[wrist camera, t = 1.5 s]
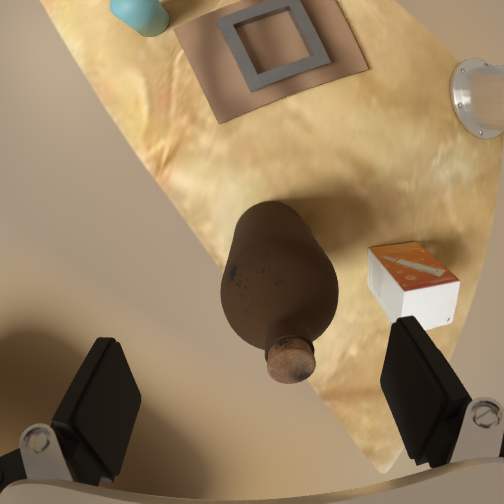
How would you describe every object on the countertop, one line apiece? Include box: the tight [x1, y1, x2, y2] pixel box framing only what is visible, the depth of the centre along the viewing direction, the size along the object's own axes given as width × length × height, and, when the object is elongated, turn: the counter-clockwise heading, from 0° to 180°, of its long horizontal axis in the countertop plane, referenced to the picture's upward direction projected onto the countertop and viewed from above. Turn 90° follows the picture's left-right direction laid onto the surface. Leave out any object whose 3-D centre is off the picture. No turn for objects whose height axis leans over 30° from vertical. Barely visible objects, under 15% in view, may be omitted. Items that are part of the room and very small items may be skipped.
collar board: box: [173, 0, 368, 124], centre depth 32 cm, size 20×14×3 cm
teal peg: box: [110, 0, 170, 37], centre depth 27 cm, size 4×4×9 cm
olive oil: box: [221, 202, 339, 384], centre depth 31 cm, size 11×11×25 cm
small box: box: [367, 241, 460, 331], centre depth 39 cm, size 8×6×13 cm
